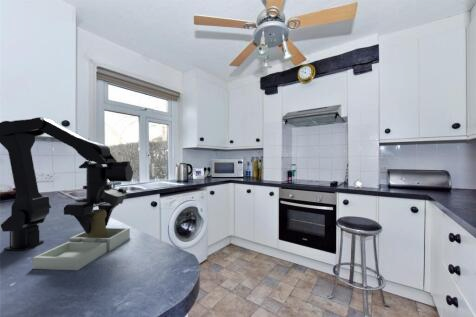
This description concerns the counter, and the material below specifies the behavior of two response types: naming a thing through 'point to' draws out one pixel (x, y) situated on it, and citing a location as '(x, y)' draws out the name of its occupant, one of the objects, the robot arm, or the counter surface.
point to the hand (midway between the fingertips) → (97, 229)
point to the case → (113, 238)
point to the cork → (98, 224)
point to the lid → (70, 256)
